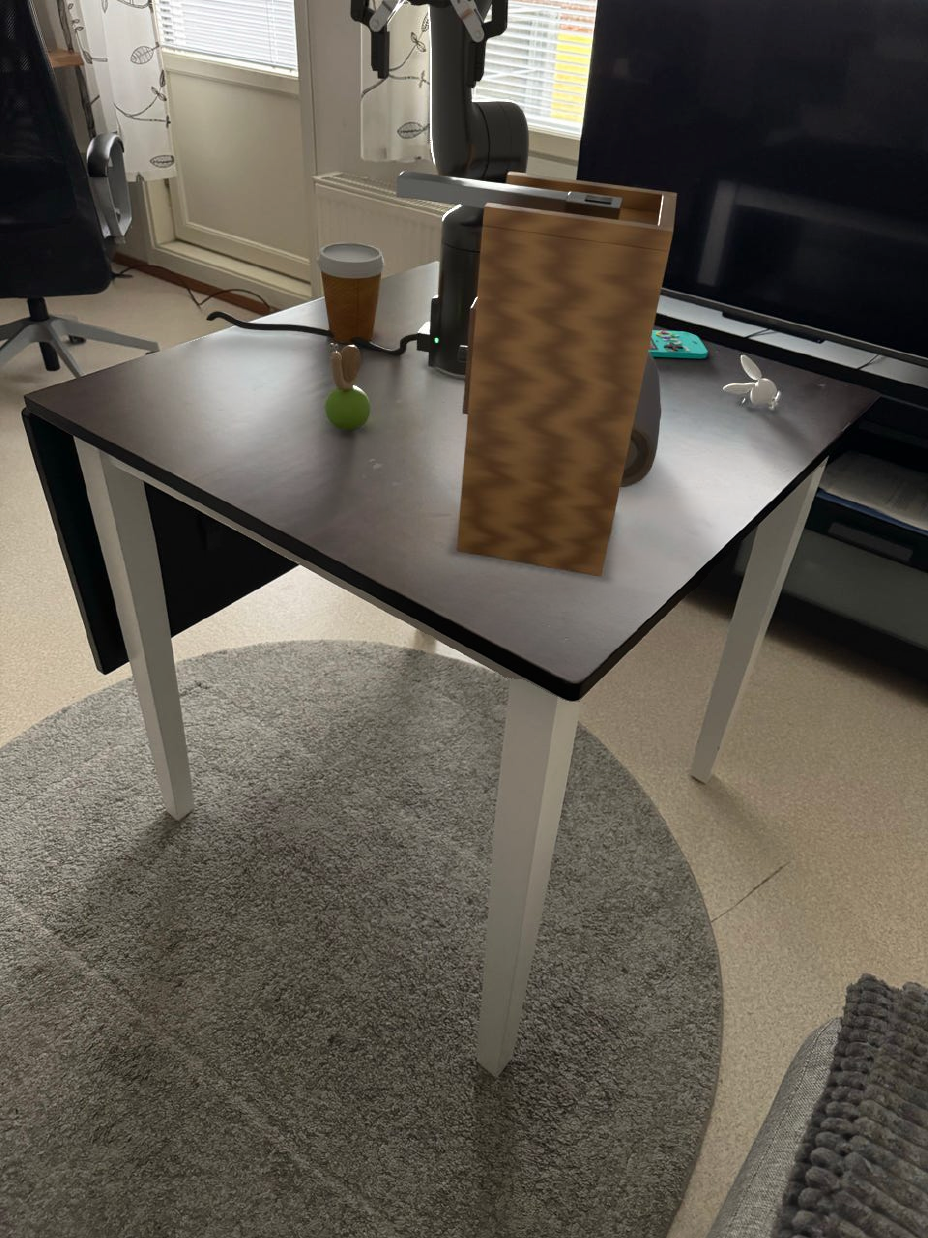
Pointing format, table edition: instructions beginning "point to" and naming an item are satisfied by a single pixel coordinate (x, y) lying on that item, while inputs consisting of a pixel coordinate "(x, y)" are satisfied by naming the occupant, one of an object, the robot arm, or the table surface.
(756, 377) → the rabbit figurine
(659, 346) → the handheld gaming console
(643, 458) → the bluetooth speaker
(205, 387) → the table surface
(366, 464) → the table surface
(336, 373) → the snail figurine
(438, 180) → the bottle opener
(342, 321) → the disposable coffee cup
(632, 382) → the zigzag wood box
